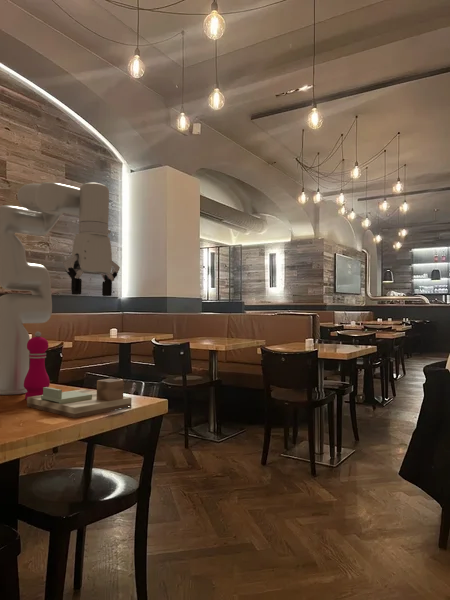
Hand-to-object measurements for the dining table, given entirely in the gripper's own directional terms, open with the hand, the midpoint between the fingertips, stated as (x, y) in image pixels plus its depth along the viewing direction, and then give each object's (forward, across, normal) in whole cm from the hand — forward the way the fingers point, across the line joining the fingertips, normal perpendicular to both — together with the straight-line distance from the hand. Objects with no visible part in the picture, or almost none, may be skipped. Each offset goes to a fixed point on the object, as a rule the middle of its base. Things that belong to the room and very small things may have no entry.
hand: (92, 295), depth 120 cm
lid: (+28, +2, -7) cm, 29 cm away
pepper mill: (+31, -1, -27) cm, 41 cm away
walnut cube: (+28, -6, +1) cm, 28 cm away
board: (+31, -2, -7) cm, 31 cm away
